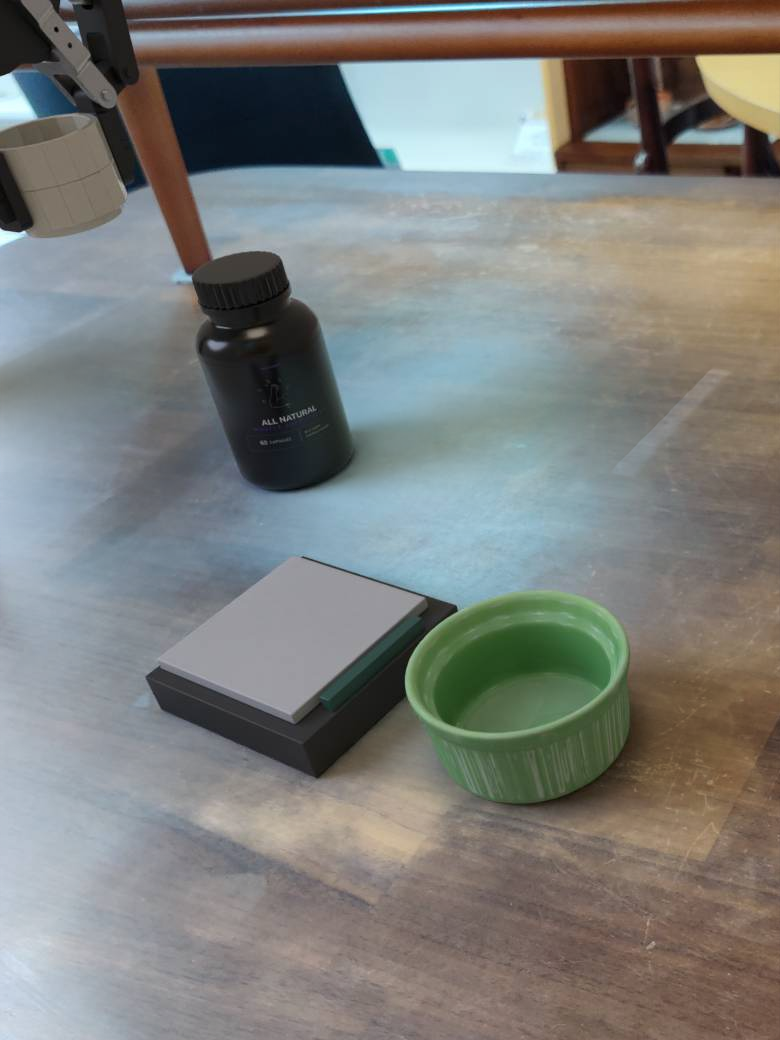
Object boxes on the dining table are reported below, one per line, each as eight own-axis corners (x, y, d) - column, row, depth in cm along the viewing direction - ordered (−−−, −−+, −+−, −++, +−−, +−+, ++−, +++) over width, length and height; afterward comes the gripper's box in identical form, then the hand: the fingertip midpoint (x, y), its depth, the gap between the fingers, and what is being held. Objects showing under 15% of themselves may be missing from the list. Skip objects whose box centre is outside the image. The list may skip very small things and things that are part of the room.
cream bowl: (-5, 236, 63) (-47, 147, 60) (85, 196, 66) (50, 111, 63) (64, 246, 60) (23, 153, 57) (153, 204, 63) (120, 115, 61)
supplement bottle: (304, 503, 67) (234, 300, 60) (218, 482, 70) (140, 287, 63) (381, 443, 72) (324, 247, 64) (296, 426, 75) (232, 237, 67)
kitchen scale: (160, 709, 55) (138, 665, 53) (314, 587, 61) (298, 544, 59) (316, 778, 50) (297, 732, 48) (466, 638, 56) (454, 593, 54)
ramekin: (491, 653, 55) (471, 575, 52) (674, 686, 52) (663, 606, 49) (389, 791, 49) (360, 712, 46) (589, 839, 45) (571, 757, 43)
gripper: (-210, -158, 46) (-6, 267, 56) (92, -213, 55) (220, 163, 65) (-302, -145, 49) (-94, 253, 60) (-5, -199, 58) (131, 155, 69)
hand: (69, 204), depth 63 cm, fingers closed on cream bowl, 6 cm apart
